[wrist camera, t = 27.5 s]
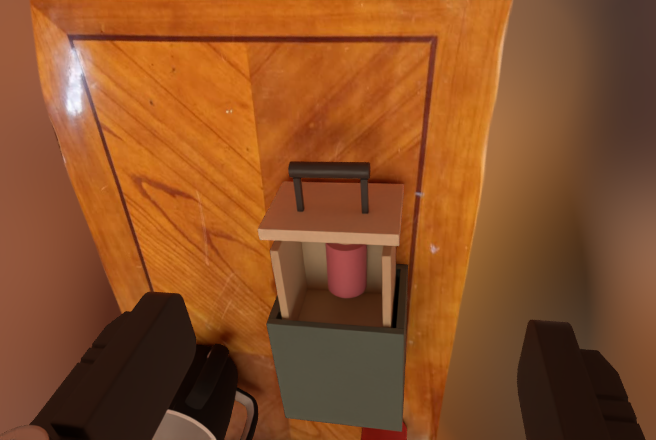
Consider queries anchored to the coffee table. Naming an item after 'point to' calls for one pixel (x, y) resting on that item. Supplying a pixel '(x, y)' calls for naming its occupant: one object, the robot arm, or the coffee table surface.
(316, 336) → the cabinet
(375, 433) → the beer can
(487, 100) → the coffee table surface
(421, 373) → the coffee table surface
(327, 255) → the doll
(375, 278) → the drawer
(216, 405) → the mug
